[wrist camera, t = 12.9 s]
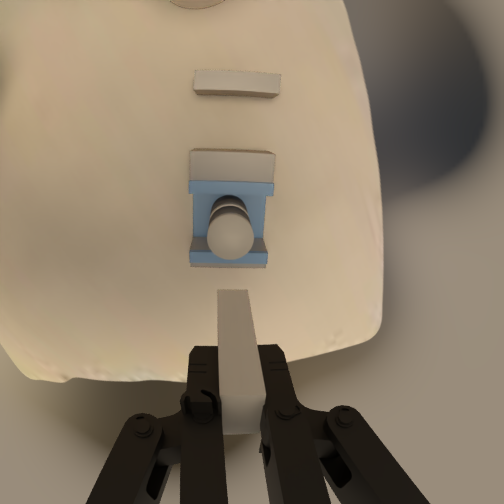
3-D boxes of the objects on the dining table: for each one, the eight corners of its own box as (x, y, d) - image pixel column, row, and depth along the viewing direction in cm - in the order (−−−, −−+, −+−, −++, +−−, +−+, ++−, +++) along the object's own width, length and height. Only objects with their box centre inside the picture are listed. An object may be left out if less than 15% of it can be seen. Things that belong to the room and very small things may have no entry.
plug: (210, 228, 32) (207, 259, 25) (211, 194, 31) (207, 215, 23) (245, 229, 33) (252, 260, 25) (247, 195, 31) (255, 216, 24)
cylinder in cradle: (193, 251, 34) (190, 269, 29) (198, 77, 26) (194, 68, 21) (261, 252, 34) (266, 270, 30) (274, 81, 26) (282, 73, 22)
